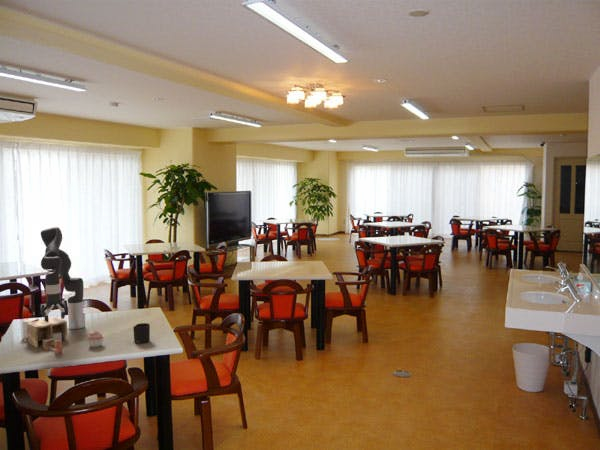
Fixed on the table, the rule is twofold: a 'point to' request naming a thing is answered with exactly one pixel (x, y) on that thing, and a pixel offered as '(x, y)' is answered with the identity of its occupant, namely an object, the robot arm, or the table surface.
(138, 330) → the pen holder
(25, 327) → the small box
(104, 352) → the table surface
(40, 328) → the oak shelf
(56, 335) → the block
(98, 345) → the cupcake
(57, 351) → the tethered block
